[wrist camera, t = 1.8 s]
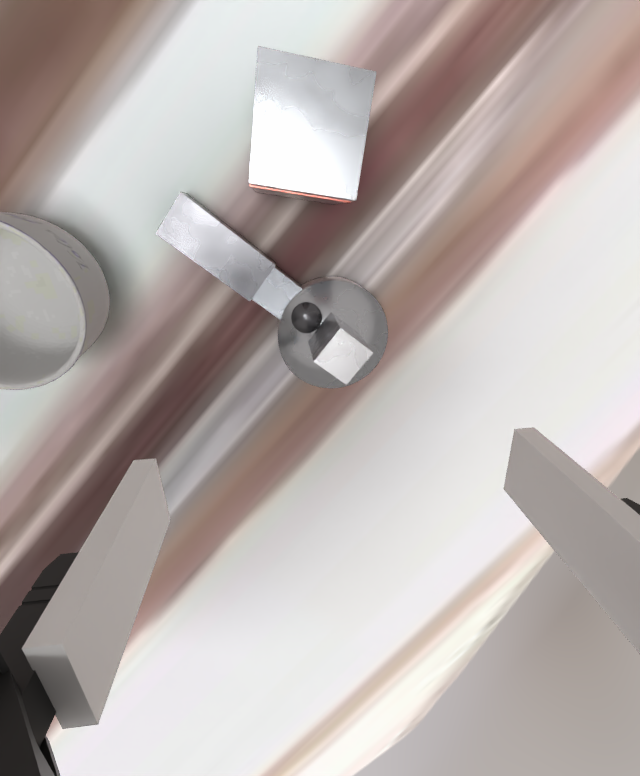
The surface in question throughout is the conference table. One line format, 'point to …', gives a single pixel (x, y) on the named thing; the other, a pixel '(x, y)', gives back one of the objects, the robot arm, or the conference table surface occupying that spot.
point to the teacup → (45, 301)
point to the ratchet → (287, 299)
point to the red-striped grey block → (309, 127)
